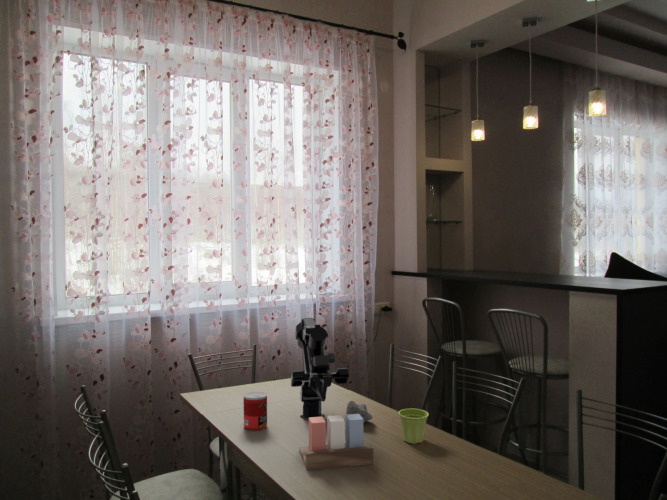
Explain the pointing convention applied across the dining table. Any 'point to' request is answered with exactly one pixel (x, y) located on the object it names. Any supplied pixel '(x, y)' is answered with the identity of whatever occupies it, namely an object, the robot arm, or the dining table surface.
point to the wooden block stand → (336, 457)
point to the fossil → (358, 410)
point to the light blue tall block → (354, 431)
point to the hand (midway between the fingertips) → (323, 400)
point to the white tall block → (335, 432)
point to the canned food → (255, 411)
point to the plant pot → (413, 424)
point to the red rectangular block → (317, 434)
